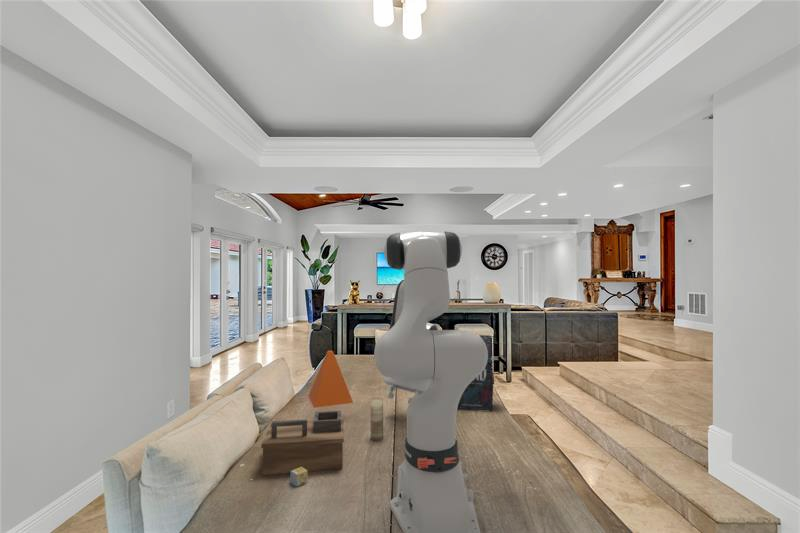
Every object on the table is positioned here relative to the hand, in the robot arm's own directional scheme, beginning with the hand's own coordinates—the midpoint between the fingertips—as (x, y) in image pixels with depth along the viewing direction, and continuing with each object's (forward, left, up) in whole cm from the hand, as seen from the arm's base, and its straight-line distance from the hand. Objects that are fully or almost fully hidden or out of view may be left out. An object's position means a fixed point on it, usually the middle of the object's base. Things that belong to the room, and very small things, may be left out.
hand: (399, 400), depth 128 cm
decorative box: (+15, -30, -9) cm, 35 cm away
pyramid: (+32, +24, -9) cm, 41 cm away
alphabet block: (-30, +30, -9) cm, 43 cm away
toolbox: (-18, +30, -9) cm, 36 cm away
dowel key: (-7, +8, -9) cm, 14 cm away
